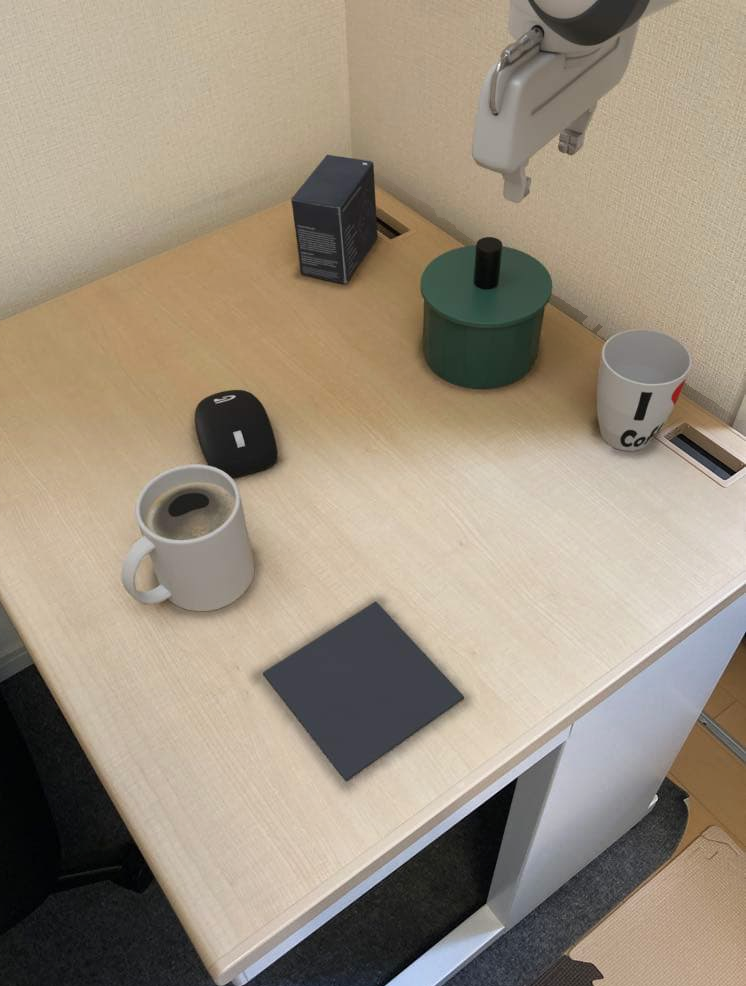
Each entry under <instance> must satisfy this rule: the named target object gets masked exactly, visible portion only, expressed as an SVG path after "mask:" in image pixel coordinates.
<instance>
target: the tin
mask: <svg viewBox="0 0 746 986" xmlns="http://www.w3.org/2000/svg"><path fill="white" fill-rule="evenodd" d="M545 310H546V306H545V307H544V308H543V310H542V311H540V312H539V313H538V314H537V315H535V316H534V317H532V318H530V319H528V320H526V321H524V322H521V323H518V324H515V325H511V326H506V327H499V328H477V327H470V326H465V325H461V324H457V323H454V322H452V321H449V320H447V319H445V318H443V317H441V316H440V315H438V314H437V313H435V312H434V311H433V310H432V309H431V308H430V307H429V306H428V305H427V304H426V303H425V301H424V300H423V313H422V314H423V317H422V318H423V319H422V352H423V357H424V361H425V362H426V365H427V366H428V367H429V369H430V370H431V371H432V372H433V373H434V374H435V375H436V376H438V377H439V378H441V379H442V380H444V381H446V382H448V383H450V384H453V385H455V386H459V387H462V388H467V389H476V390H487V389H489V390H490V389H497V388H501V387H506V386H509V385H511V384H515V382H518V381H519V380H521V379H523V378H524V377H525V376H526V375H527V374H529V373H530V371H532V369H533V367H534V366H535V364H536V362H537V360H538V355H539V348H540V344H541V343H540V340H541V336H542V329H543V322H544V316H545Z"/></svg>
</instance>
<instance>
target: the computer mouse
mask: <svg viewBox="0 0 746 986" xmlns="http://www.w3.org/2000/svg"><path fill="white" fill-rule="evenodd" d="M194 425H195V431H196V432H195V433H196V437H197V440H198V444H199V447H200V450H201V453H202V455H203V458H204V460H205V462H206V465H208V466H212V467H215V468H217V469H220V470H222V471H223V472H225V473H226V474H228V475H229V476H230V477H231V478H232V479H234V478H235V479H236V478H239V477H240V478H241V477H243V476H246V475H250V474H254V473H257V472H261V471H263V470H267V469H269V468H271V467H272V466H274V465H275V464H276V463H277V461H278V455H279V453H278V447H277V446H278V445H277V442H276V438H275V434H274V430H273V427H272V424H271V420H270V418H269V415H268V412H267V410H266V408H265V406H264V405H263V403H262V402H261V400H259V399H258V397H256V395H254V394H253V393H252V392H250V391H248V390H244V389H230V390H223V391H220V392H217V393H216V392H215V393H213V394H210V395H207V396H206V397H205V398H203V399H201V400H200V402H199V403H198V404H197V406H196V408H195V412H194Z"/></svg>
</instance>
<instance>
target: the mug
mask: <svg viewBox="0 0 746 986" xmlns="http://www.w3.org/2000/svg"><path fill="white" fill-rule="evenodd" d="M134 510H135V511H134V513H135V518H136V521H137V524H138V527H139V530H140V533H141V535H142V537H140V538H139V539H138V540H136V542H135V543H133V545H132V546H131V547H130V548H129V550H128V551H127V552H126V553H127V554H126V556H125V558H124V560H123V564H122V567H121V582H122V583H121V584H122V585H123V588H124V590H125V591H126V592H127V593H128V594H129V595H130V596H131V597H132V598H133V599H134V600H135V601H136V602H138V603H139V604H141V605H145V606H146V605H147V606H151V605H156V604H160V603H163V602H164V601H166V600H168V601H169V602H171V603H172V604H173V605H175V606H177V607H179V608H180V609H184V610H186V611H193V612H210V611H215V610H216V611H217V610H219V609H222V608H224V607H226V606H229V605H230V604H233V603H234V602H235V601H237V600H238V599H239V598H240V597H241V596H243V595H244V594H245V592H246V591H247V590H248V588H249V587H250V586H251V583H252V581H253V579H254V576H255V575H254V574H255V561H254V556H253V551H252V546H251V542H250V537H249V531H248V526H247V522H246V518H245V517H246V516H245V512H244V507H243V502H242V497H241V493H240V489H239V486H238V485H237V483H236V482H235V480H234V478H231V477H230V476H229V475H228V474H226V473H225V472H223V471H222V470H220V469H217V468H215V467H212V466H208V464H200V463H199V464H198V463H197V464H196V463H193V464H191V463H190V464H183V465H178V466H174V467H172V468H169V469H166V470H164V471H163V472H161V473H159V474H157V475H155V477H153V478H151V479H150V480H149V481H148V482H147V483H146V484H145V485H144V487H143V488H142V489H141V491H140V492H139V494H138V496H137V500H136V503H135V509H134ZM147 555H148V556H149V559H150V561H151V564H152V567H153V570H154V573H155V576H156V578H157V581H158V584H159V585H158V586H156V587H155V588H153V589H150V590H147V591H141V590H138V589H137V586H136V576H137V572H138V570H139V567H140V565H141V564H142V562H143V560H144V559H145V558H146V556H147Z"/></svg>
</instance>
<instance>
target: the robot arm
mask: <svg viewBox="0 0 746 986" xmlns="http://www.w3.org/2000/svg"><path fill="white" fill-rule="evenodd" d="M682 1H683V0H509V5H508V6H509V7H508V16H507V17H508V18H507V30H508V33H509V34H510V36H511V37H512V38H513V39H514V40H515V42H512V43H509V44H508V45H507V46H506V47H504V48H503V50H502V51H501V53H500V59H498V60H497V61H496V62H495V63H493V64H492V66H491V67H489V69H488V71H487V72H486V74H485V77H484V78H483V81H482V85H481V87H480V93H479V98H478V102H477V107H476V114H475V115H476V116H475V120H474V128H473V135H472V142H471V157H472V159H473V161H474V162H475V164H476V165H477V166H478V167H480V168H484V169H485V170H488V171H491V172H495V173H498V174H501V176H502V179H503V180H504V182H503V190H502V191H503V192H502V196H503V198H504V199H505V200H507V201H508V202H512V203H514V204H519V203H521V202H522V201H523V200H524V199H525V198H526V197H527V196H528V195H529V194H530V188H531V183H532V177H531V176H527V174H526V169H525V168H527V167H528V166H529V164H530V159H531V158H532V157H533V156H534V155H536V154H537V153H538V152H540V150H542V149H543V148H544V147H545V146H546V145H548V144H549V143H550V142H551V141H552V140H554V139H555V138H556V137H557V136H558V135H559V138H558V141H559V142H558V143H557V144H558V145H557V149H558V151H559V152H560V153H561V154H567V155H569V156H573V155H575V154H576V153H578V152H579V151H580V150H581V149H582V148H583V147H584V143H585V137H586V132H587V130H588V128H589V125H590V123H591V121H592V119H593V116H594V114H595V112H596V110H597V105H598V101H600V100H601V99H602V98H603V97H604V96H606V95H607V94H608V93H609V92H611V91H612V90H613V89H614V88H615V87H617V86H618V85H619V84H620V83H621V81H622V79H623V77H624V75H625V73H626V71H627V69H628V67H629V65H630V61H631V58H632V57H631V56H632V53H633V50H634V47H635V46H634V45H635V42H636V37H637V34H638V29H639V24H640V21H641V20H644V19H646V18H647V17H650V16H652V15H654V14H656V13H659V12H661V11H663V10H664V9H667V8H669V7H671V6H673V5H676V4H678V3H680V2H682Z"/></svg>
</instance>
